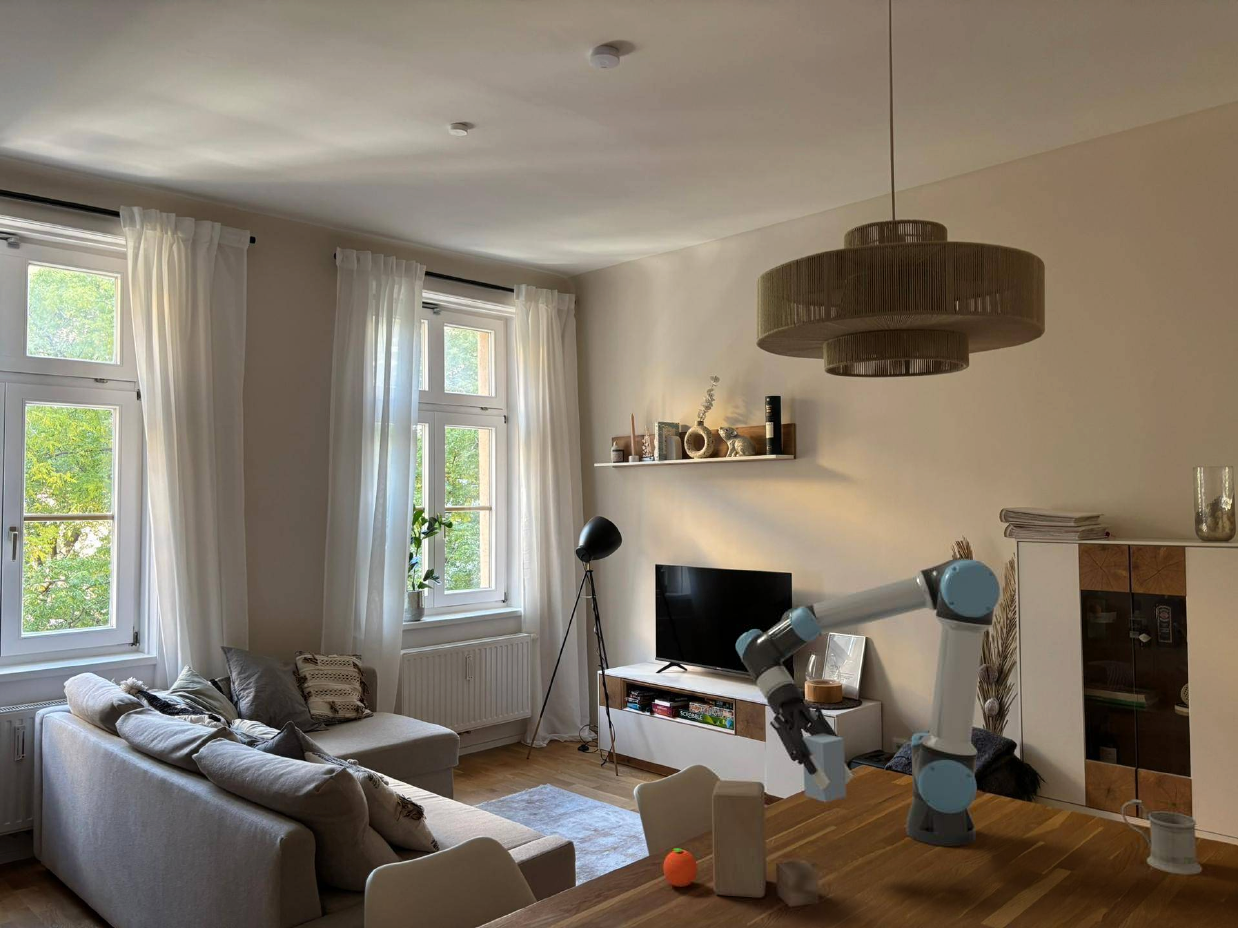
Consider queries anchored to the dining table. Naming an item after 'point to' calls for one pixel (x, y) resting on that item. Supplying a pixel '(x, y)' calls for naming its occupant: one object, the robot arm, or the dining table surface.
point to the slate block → (826, 767)
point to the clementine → (680, 867)
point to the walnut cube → (797, 882)
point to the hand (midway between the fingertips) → (837, 783)
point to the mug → (1170, 841)
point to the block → (739, 838)
